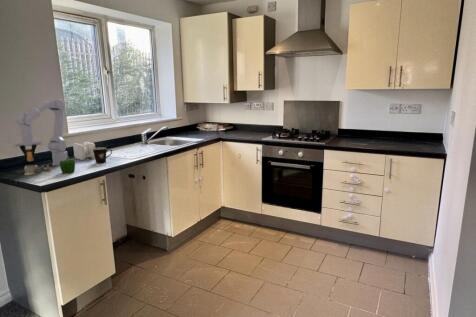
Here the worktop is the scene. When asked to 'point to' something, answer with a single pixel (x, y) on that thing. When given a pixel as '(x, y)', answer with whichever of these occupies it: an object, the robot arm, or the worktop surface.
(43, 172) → the board
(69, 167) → the bell pepper
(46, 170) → the clip
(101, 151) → the coffee mug
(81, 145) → the white lumpy block
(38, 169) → the clip
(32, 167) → the end holder
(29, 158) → the connector plug
